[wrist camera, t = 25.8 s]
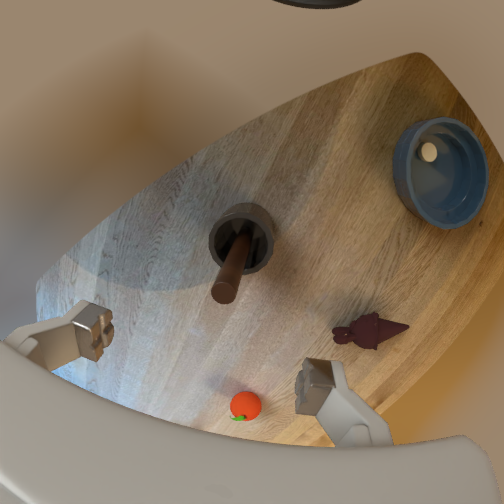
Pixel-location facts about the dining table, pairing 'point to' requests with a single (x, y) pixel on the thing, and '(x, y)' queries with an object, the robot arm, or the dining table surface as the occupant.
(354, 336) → the icecream
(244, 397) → the clementine
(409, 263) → the dining table surface
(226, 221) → the holder
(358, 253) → the dining table surface
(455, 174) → the bowl
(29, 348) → the robot arm
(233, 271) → the stick
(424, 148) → the dough
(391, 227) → the dining table surface
